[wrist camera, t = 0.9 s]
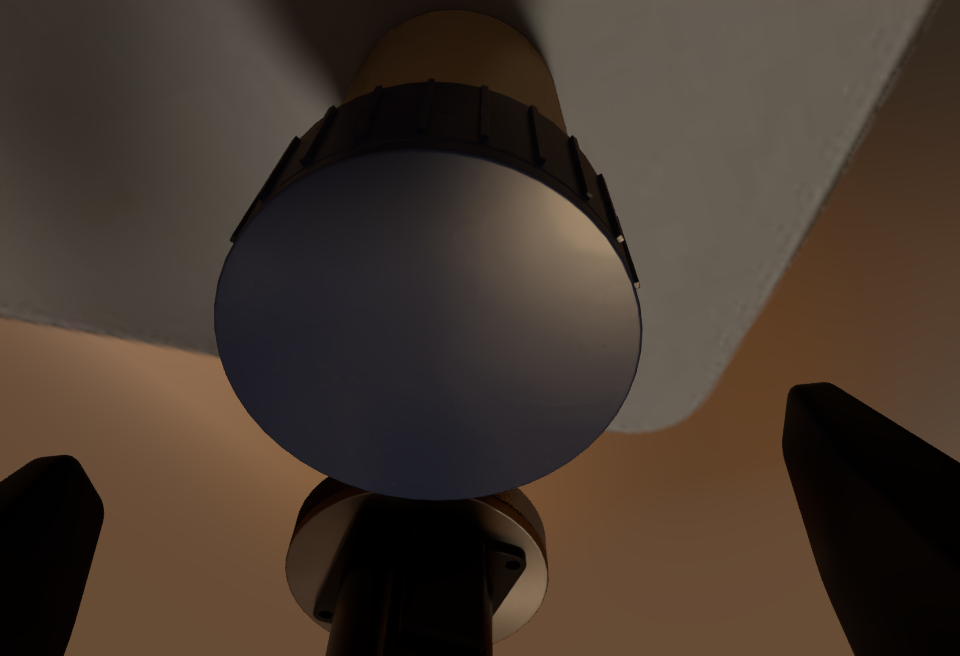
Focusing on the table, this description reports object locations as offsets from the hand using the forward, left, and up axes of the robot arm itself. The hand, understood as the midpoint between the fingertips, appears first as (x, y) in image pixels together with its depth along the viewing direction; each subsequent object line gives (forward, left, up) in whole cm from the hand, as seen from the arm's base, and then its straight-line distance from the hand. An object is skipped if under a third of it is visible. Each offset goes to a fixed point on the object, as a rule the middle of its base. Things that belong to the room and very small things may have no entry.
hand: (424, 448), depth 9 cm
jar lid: (0, 0, -5) cm, 5 cm away
